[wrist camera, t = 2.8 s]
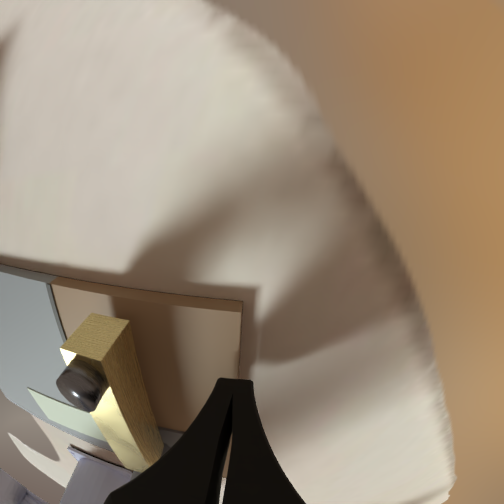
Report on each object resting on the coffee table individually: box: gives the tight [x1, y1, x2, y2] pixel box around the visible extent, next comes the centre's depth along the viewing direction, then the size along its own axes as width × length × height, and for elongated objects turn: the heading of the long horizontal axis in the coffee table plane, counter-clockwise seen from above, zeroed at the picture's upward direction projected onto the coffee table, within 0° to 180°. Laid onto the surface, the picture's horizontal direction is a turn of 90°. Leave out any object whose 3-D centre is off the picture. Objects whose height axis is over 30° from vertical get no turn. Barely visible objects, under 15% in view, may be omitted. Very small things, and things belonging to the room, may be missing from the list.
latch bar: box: [56, 313, 164, 473], centre depth 9 cm, size 10×2×3 cm, turn 176°
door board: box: [0, 264, 243, 481], centre depth 12 cm, size 16×24×4 cm, turn 86°
